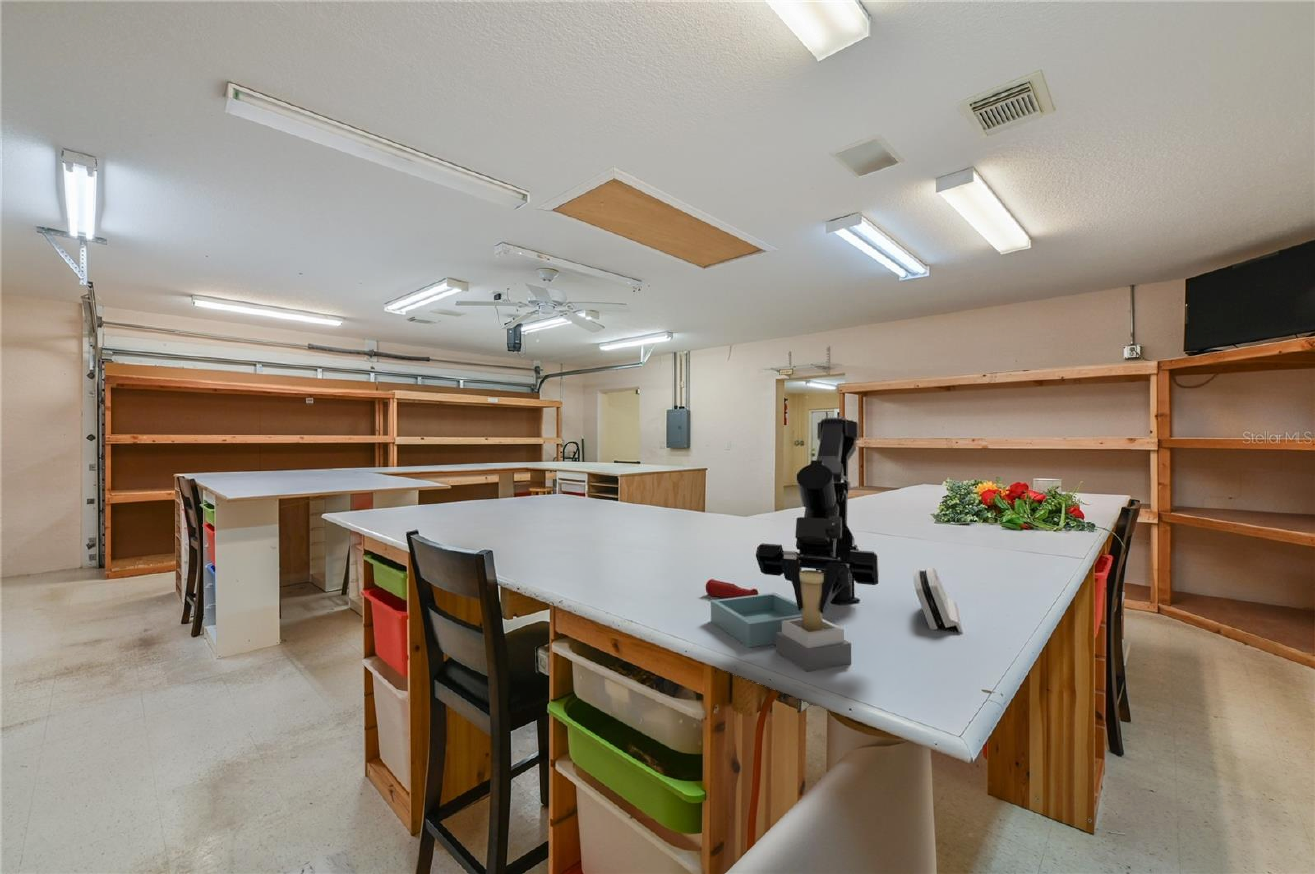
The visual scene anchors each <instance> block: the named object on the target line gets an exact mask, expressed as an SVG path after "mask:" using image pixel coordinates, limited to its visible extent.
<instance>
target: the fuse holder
mask: <svg viewBox="0 0 1315 874" xmlns="http://www.w3.org/2000/svg"><path fill="white" fill-rule="evenodd" d="M801 627H802V618H797V619H791V620H784V621H782V632H776V643H775V652H776V653H777V654H779V655H781V656H782V657H783V658H786V659H787V660H788V661H789V662H791V663H793V664H794V665H796V666H797V667H799V668H800V669H802V670H804V671H805V672H812V671H818V670H822V669H830V668H833V667H838V666H844V665H849V664H852V643H851V642H850V641H847V640H846V639H845V629H844V628H843V627H841V626H839V625H836V624H835V623H832V622H830V621H828V620H827V619H824V618H822V629H823V630H819V631H813V632H807V631H806V630H804V629H802V628H801Z"/></svg>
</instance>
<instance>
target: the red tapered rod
mask: <svg viewBox="0 0 1315 874" xmlns="http://www.w3.org/2000/svg"><path fill="white" fill-rule="evenodd" d="M705 592H706V593H707V595H708V596H714V597H718V598H721V599H727V598H735V597H744V596H752V595H759V591H758V589H757V588H751V589H747V588H743V587H739V585H737V584H734V583H729V582H724V581H720V580H716V579H713V578H711V579H709V580H708V581H707V582H706V583H705Z"/></svg>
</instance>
